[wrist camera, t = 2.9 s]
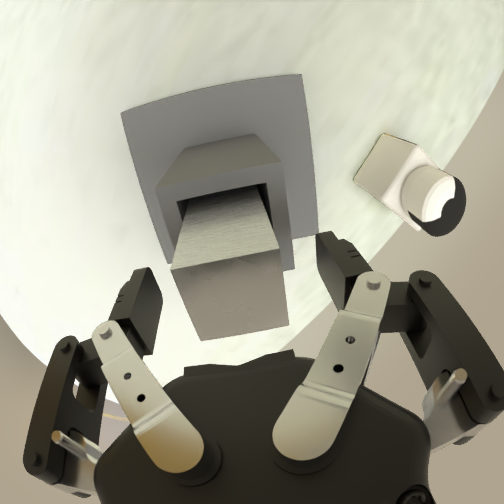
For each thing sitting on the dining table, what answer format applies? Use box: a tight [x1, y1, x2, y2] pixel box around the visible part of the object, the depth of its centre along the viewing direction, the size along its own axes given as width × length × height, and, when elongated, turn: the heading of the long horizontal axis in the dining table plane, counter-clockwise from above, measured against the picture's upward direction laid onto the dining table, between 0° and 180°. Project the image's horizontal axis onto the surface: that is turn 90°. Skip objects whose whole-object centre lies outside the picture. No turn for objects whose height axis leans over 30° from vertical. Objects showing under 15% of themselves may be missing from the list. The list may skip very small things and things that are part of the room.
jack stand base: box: [121, 74, 319, 271], centre depth 22 cm, size 18×18×14 cm
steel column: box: [170, 184, 289, 341], centre depth 19 cm, size 4×4×18 cm
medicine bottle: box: [354, 134, 466, 237], centre depth 25 cm, size 7×7×12 cm
